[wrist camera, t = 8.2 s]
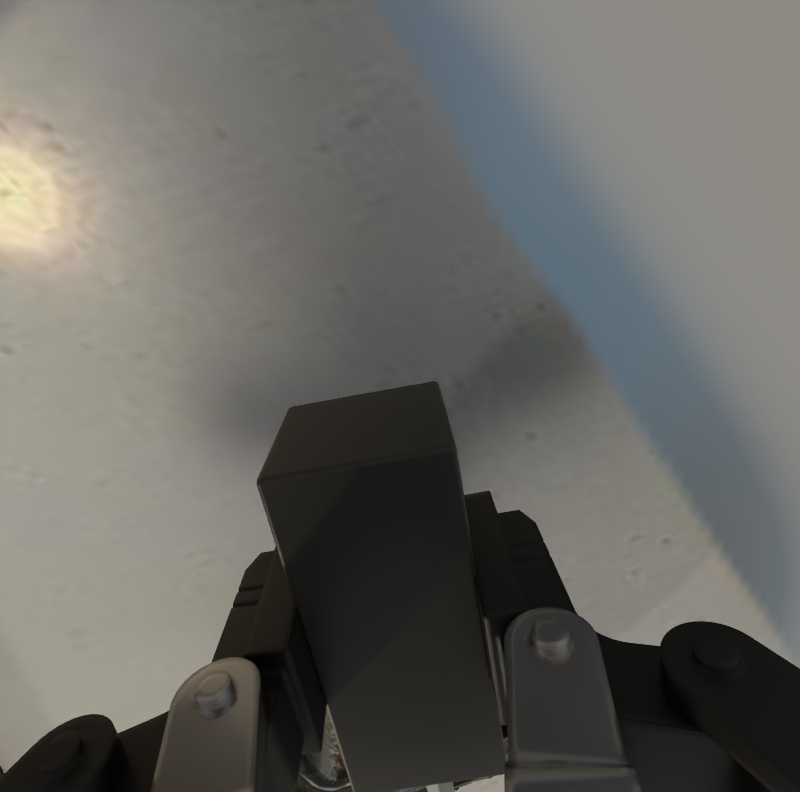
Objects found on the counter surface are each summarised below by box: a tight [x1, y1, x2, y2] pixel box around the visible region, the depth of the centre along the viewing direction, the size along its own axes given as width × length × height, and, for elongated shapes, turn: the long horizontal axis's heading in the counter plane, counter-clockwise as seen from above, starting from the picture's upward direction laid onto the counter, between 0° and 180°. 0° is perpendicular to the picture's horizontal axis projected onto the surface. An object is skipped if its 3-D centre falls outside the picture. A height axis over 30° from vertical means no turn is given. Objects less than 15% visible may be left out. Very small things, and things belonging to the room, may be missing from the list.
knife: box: [257, 381, 507, 792], centre depth 12 cm, size 16×3×3 cm, turn 10°
